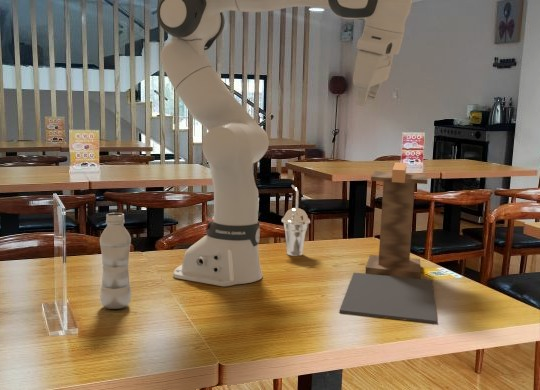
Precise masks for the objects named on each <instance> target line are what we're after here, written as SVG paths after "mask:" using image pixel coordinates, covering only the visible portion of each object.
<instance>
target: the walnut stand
mask: <svg viewBox="0 0 540 390" xmlns="http://www.w3.org/2000/svg"><path fill="white" fill-rule="evenodd" d="M370 181H371V182H373V181H374V182H383V185H382V198H381V199H382V200H381V214H380V215H381V216H380V218H381V219H380V229H379V231H380V232H379V248H378V250H379V251H378V255H376V254H375V255H374V254H369V255H368V260H367V262H366V265H365V266H366V267H365V274H375V275H385V276H395V277H406V278H416V279H421V274H422V273H421V265H422V264H421V258H412V257H411V254H410V253H411V246H412V245H411V243H412V229H413V226H412V225H413V212H414V203H415V202H414V200H415V199H414V198H415V189H416V188H415V185H416V184H418V185H419V184H420V185H421V184H422V185H427V184H428V176H427V174H426V173H412V172H411V173H410V172H406V176H405V183H400V182H392V171H378V170H375V171H374V172H373V173H372V175H371V176H370Z"/></svg>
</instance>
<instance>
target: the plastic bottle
mask: <svg viewBox="0 0 540 390" xmlns="http://www.w3.org/2000/svg"><path fill="white" fill-rule="evenodd" d="M105 217H106V218H105V219H106V220H105V224H107V225H106V227H105V228H104V230H103V231H102V233H101V235H100V236H99V246H100V251H101V252H100V253H101V260H102V262H101V263H102V279H101V280H102V281H101V288H100V292H99V293H100V295H99V298H100V303H101V304H102V306H103V307H104V308H106V309H111V310H117V309H119V310H120V309H124V308H126V307H128V306H129V304H130V303H131V299H132V296H133V295H132V294H133V293H132V287H131V284H130V274H129V263H130V261H129V260H130V251H131V243H132V237H131V234H130V233H129V231H128V229H126V227H125V226H124V224H125V214H124V213H123V212H110V213H106V215H105Z"/></svg>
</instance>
